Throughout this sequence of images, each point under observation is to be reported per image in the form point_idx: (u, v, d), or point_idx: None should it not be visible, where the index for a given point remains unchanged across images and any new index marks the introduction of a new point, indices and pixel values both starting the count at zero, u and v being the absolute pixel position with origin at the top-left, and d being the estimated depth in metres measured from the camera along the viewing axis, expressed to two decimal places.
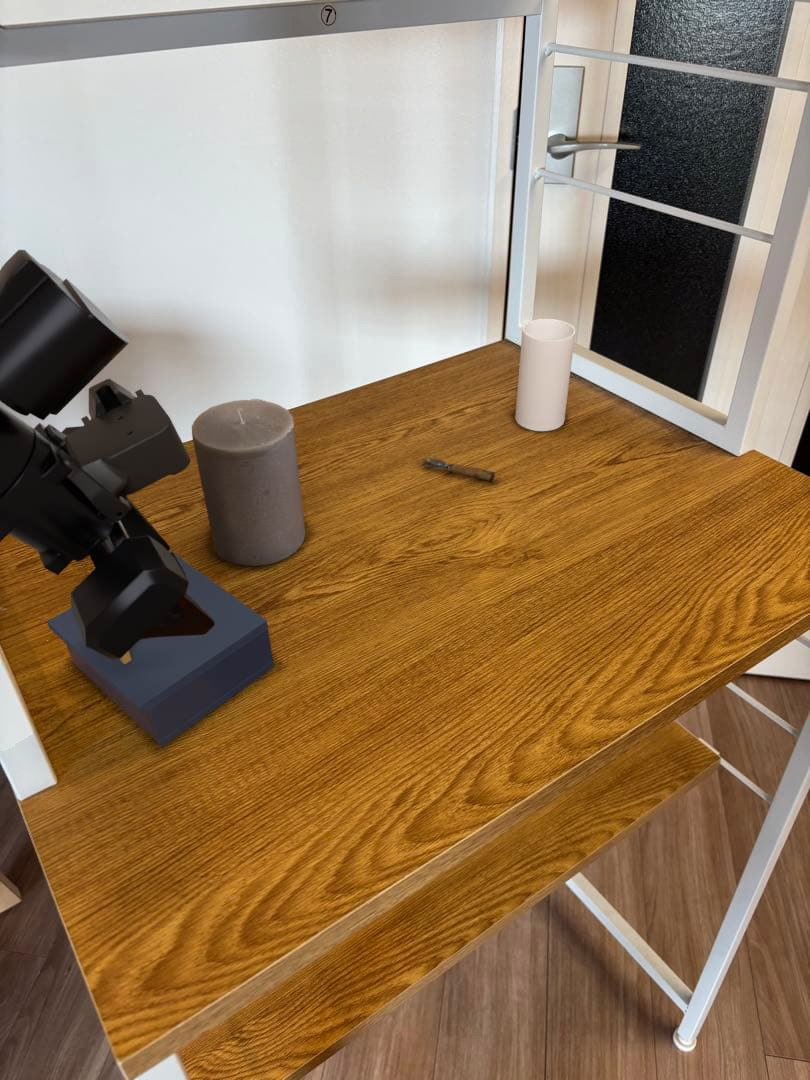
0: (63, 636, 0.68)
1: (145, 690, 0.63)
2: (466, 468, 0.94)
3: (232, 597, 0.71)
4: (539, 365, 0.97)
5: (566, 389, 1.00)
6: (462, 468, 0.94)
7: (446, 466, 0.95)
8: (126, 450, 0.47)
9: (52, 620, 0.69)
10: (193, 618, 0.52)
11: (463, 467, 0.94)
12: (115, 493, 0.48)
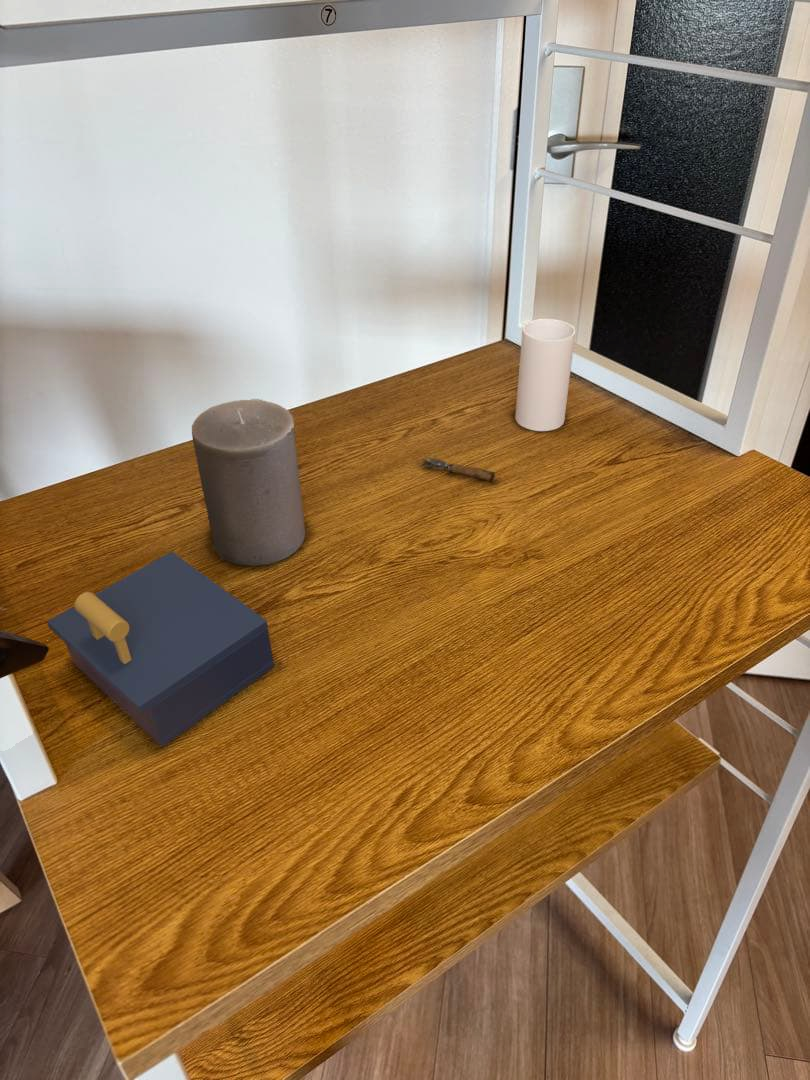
0: (63, 636, 0.68)
1: (145, 690, 0.63)
2: (466, 468, 0.94)
3: (232, 597, 0.71)
4: (539, 365, 0.97)
5: (566, 389, 1.00)
6: (462, 468, 0.94)
7: (446, 466, 0.95)
8: None
9: (52, 620, 0.69)
10: (22, 652, 0.53)
11: (463, 467, 0.94)
12: None
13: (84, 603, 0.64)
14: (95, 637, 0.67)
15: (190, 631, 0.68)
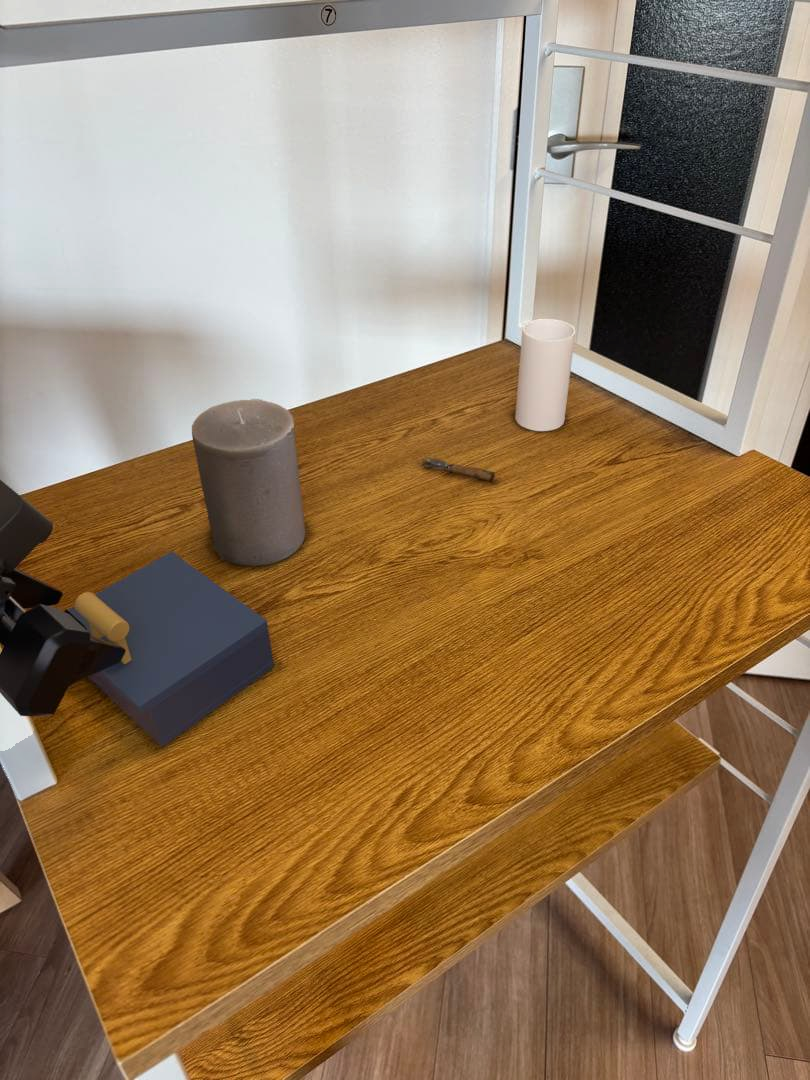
0: None
1: (145, 690, 0.63)
2: (466, 468, 0.94)
3: (232, 597, 0.71)
4: (539, 365, 0.97)
5: (566, 389, 1.00)
6: (462, 468, 0.94)
7: (446, 466, 0.95)
8: None
9: None
10: (105, 654, 0.59)
11: (463, 467, 0.94)
12: None
13: (84, 603, 0.64)
14: None
15: (190, 631, 0.68)
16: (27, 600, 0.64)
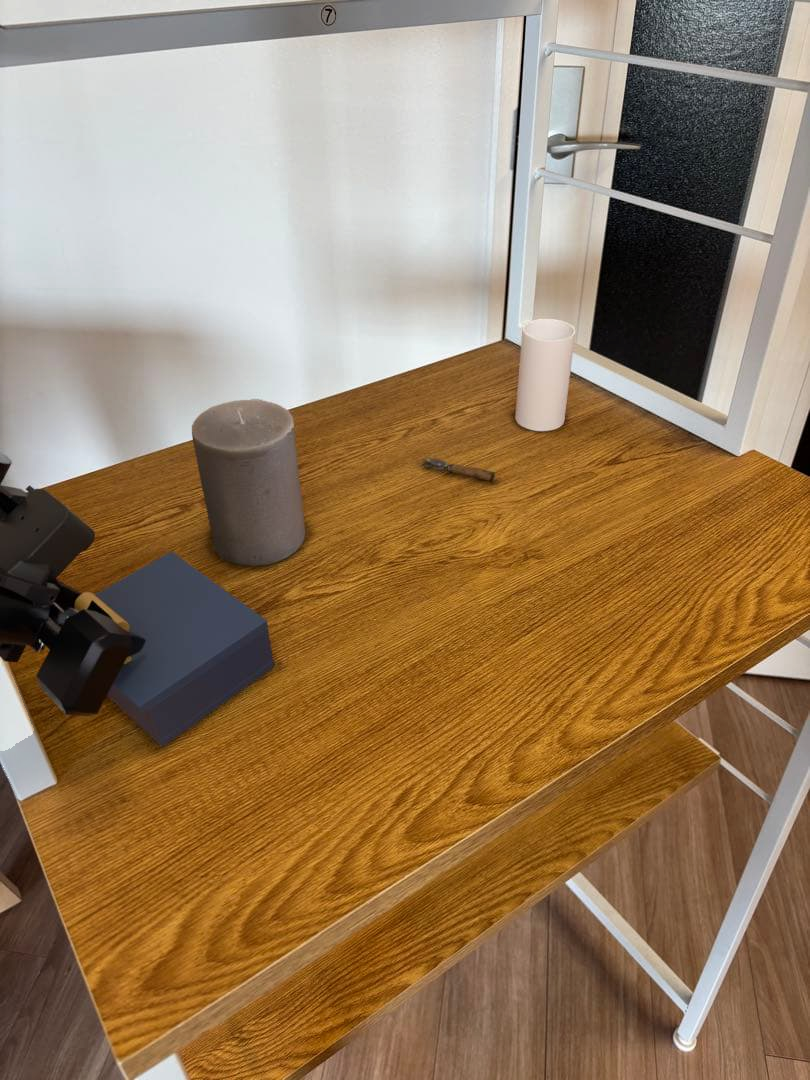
0: None
1: (145, 690, 0.63)
2: (466, 468, 0.94)
3: (232, 597, 0.71)
4: (539, 365, 0.97)
5: (566, 389, 1.00)
6: (462, 468, 0.94)
7: (446, 466, 0.95)
8: (40, 546, 0.55)
9: None
10: None
11: (463, 467, 0.94)
12: (43, 583, 0.56)
13: (84, 603, 0.64)
14: None
15: (190, 631, 0.68)
16: None
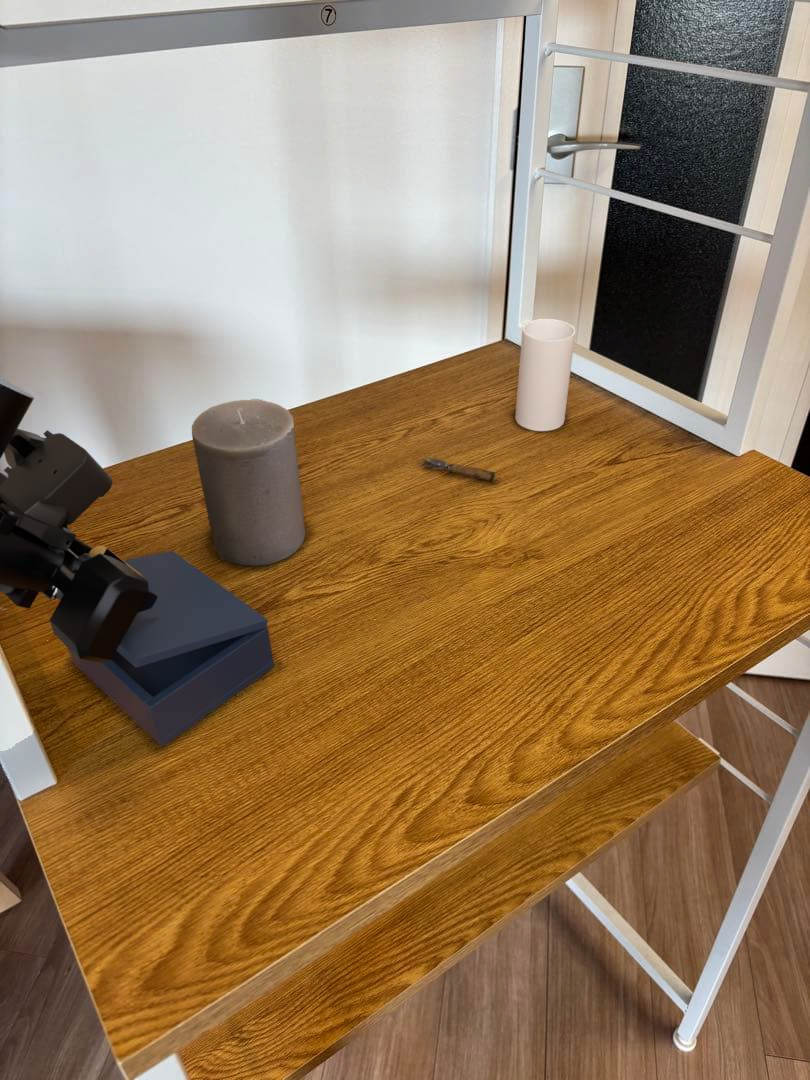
0: None
1: (144, 647, 0.61)
2: (466, 468, 0.94)
3: (233, 596, 0.71)
4: (539, 365, 0.97)
5: (566, 389, 1.00)
6: (462, 468, 0.94)
7: (446, 466, 0.95)
8: (58, 488, 0.54)
9: None
10: None
11: (463, 467, 0.94)
12: (59, 526, 0.55)
13: (100, 553, 0.63)
14: None
15: (191, 612, 0.67)
16: None
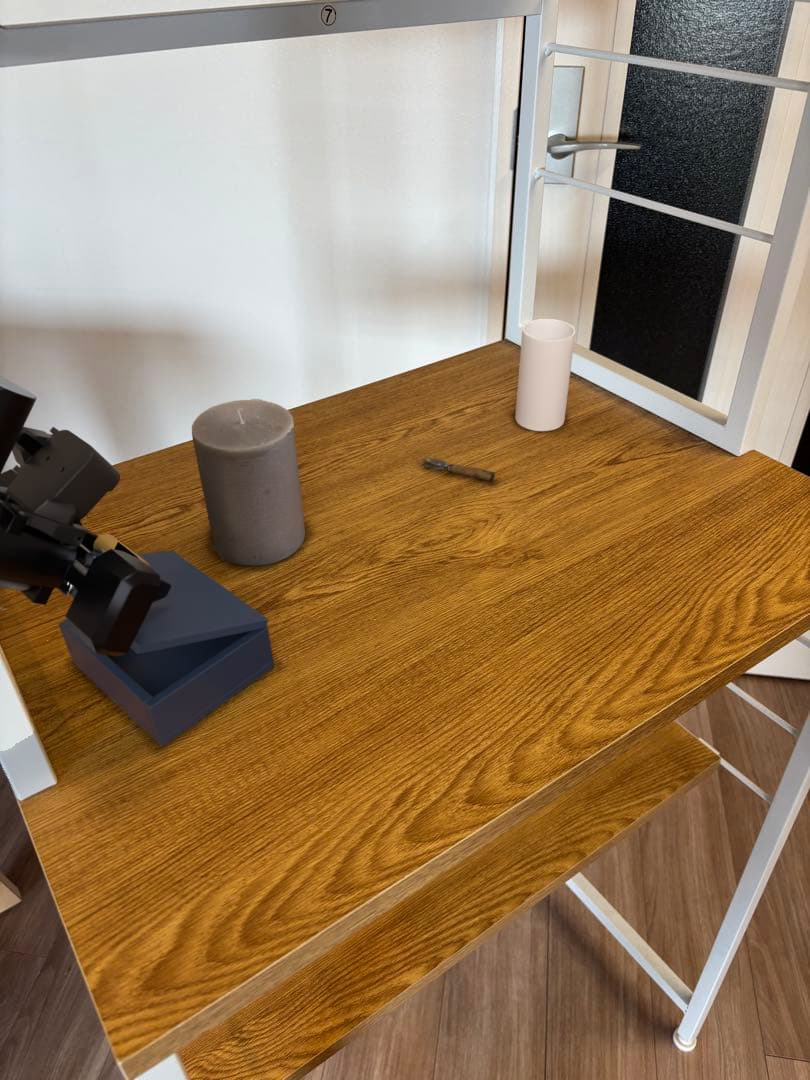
0: None
1: (147, 635, 0.61)
2: (466, 468, 0.94)
3: (234, 596, 0.71)
4: (539, 365, 0.97)
5: (566, 389, 1.00)
6: (462, 468, 0.94)
7: (446, 466, 0.95)
8: (66, 485, 0.54)
9: None
10: None
11: (463, 467, 0.94)
12: (70, 523, 0.55)
13: (107, 540, 0.63)
14: None
15: (192, 607, 0.67)
16: None
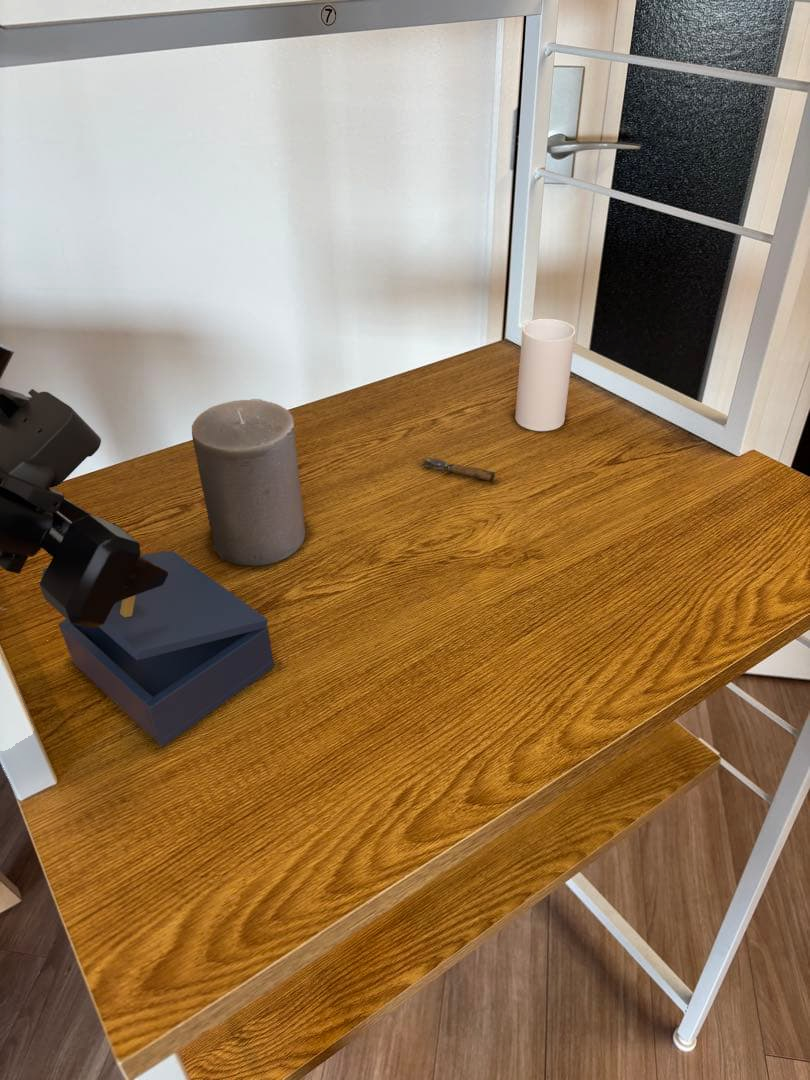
0: None
1: (145, 640, 0.61)
2: (466, 468, 0.94)
3: (234, 596, 0.71)
4: (539, 365, 0.97)
5: (566, 389, 1.00)
6: (462, 468, 0.94)
7: (446, 466, 0.95)
8: (43, 447, 0.52)
9: None
10: (149, 573, 0.59)
11: (463, 467, 0.94)
12: (46, 487, 0.53)
13: None
14: None
15: (192, 609, 0.67)
16: None
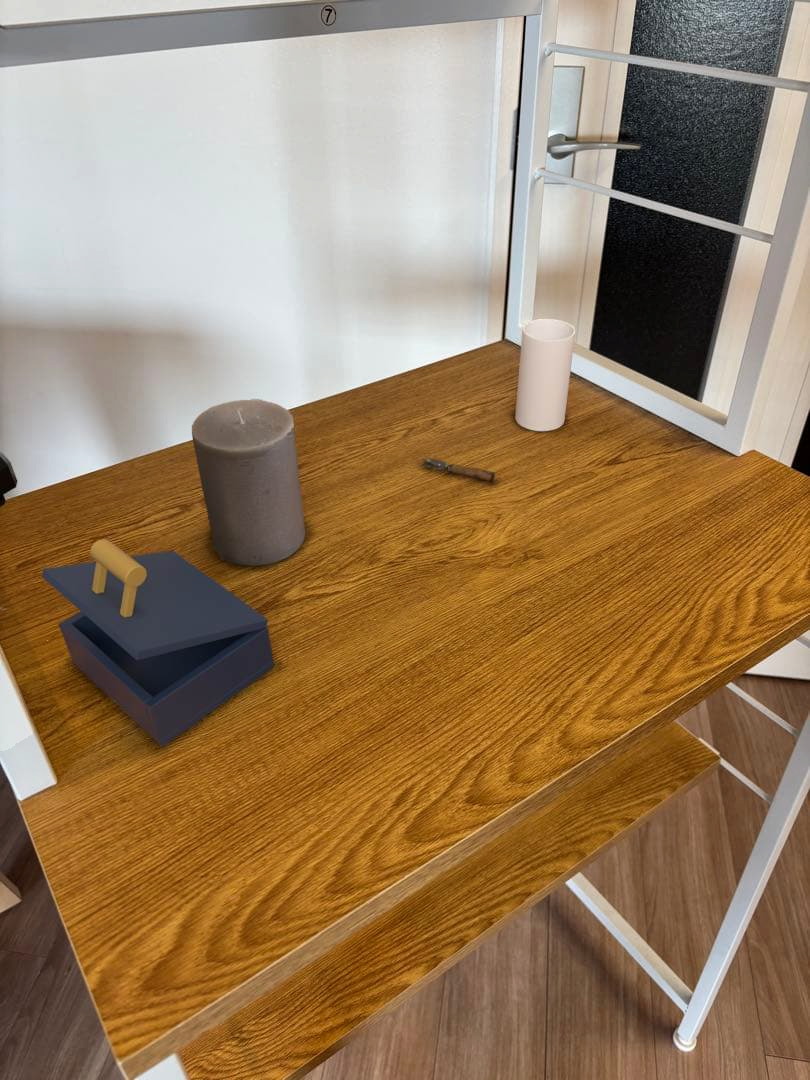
0: (60, 583, 0.65)
1: (145, 640, 0.61)
2: (466, 468, 0.94)
3: (234, 596, 0.71)
4: (539, 365, 0.97)
5: (566, 389, 1.00)
6: (462, 468, 0.94)
7: (446, 466, 0.95)
8: None
9: (49, 569, 0.67)
10: None
11: (463, 467, 0.94)
12: None
13: (104, 546, 0.63)
14: (95, 590, 0.65)
15: (192, 609, 0.67)
16: None
